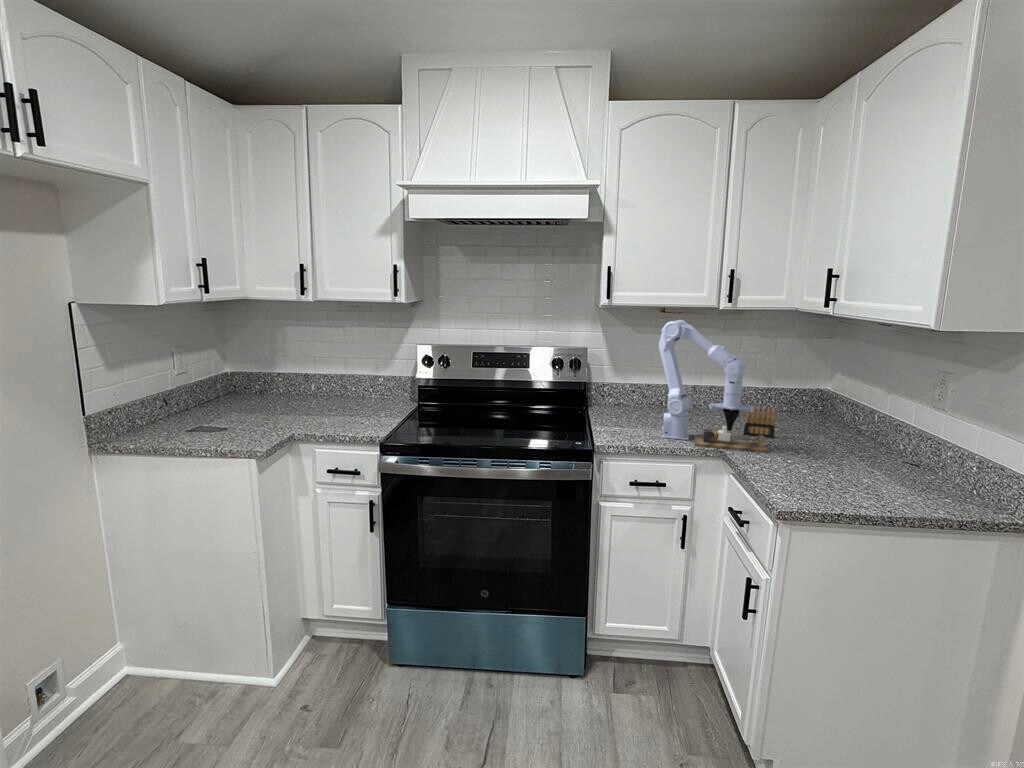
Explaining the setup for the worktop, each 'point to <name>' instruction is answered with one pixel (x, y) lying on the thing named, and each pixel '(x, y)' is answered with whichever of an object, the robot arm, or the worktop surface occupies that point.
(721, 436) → the white slotted bracket
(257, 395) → the worktop surface
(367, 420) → the worktop surface
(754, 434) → the ammunition clip
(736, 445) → the rail board
